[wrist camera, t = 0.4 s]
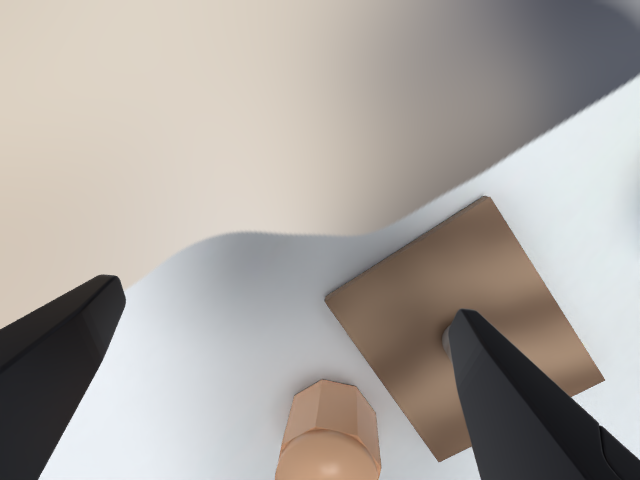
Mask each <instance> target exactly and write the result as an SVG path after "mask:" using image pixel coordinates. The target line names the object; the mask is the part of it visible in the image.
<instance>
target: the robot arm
mask: <svg viewBox="0 0 640 480" xmlns="http://www.w3.org/2000/svg"><path fill="white" fill-rule="evenodd" d="M125 304H126V298H125V294H124V291H123V288H122V285H121V282H120V279H119V278H118V277H117V276H114V275H98V276H96V277H94V278H93V279H91V280H89V281H88V282H85V283H84V284H82V285H80V286H78V287H76V288H75V289H73V290H71V291H69V292H67V293H65V294H64V295H62V296H60V297H58V298H56V299H55V300H53V301H51V302H49V303H47V304H46V305H44V306H42V307H40V308H38V309H36V310H35V311H33V312H31V313H30V314H28V315H26V316H24V317H22V318H20V319H18V320H17V321H15V322H13V323H11V324H9V325H8V326H6V327H4V328H2V329H0V480H38V479H39V477H40V475H41V473H42V471H43V469H44V468H45V466H46V464H47V462H48V460H49V458H50V457H51V455H52V453H53V451H54V449H55V447H56V446H57V444H58V442H59V440H60V438H61V436H62V435H63V433H64V431H65V429H66V427H67V425H68V424H69V422H70V420H71V418H72V416H73V414H74V413H75V411H76V409H77V407H78V405H79V403H80V401H81V400H82V398H83V396H84V394H85V392H86V390H87V389H88V387H89V385H90V383H91V381H92V379H93V378H94V376H95V374H96V372H97V370H98V368H99V366H100V364H101V363H102V361H103V358H104V356H105V354H106V352H107V349H108V347H109V344H110V342H111V340H112V337H113V335H114V332H115V330H116V327H117V325H118V322H119V320H120V318H121V315H122V313H123V310H124V308H125ZM448 338H449V344H450V350H451V357H452V363H453V369H454V376H455V382H456V387H457V392H458V396H459V400H460V404H461V407H462V411H463V415H464V419H465V422H466V426H467V430H468V433H469V437H470V441H471V444H472V448H473V452H474V455H475V459H476V463H477V466H478V470H479V474H480V477H481V480H640V460H639V459H638V458H637V457H636V456H635V455H634V454H632V453H631V452H630V451H629V450H628V449H627V448H626V447H625V446H623V445H622V444H621V443H620V442H619V441H618V440H617V439H616V438H615V437H614V436H612V435H611V434H610V433H609V432H608V431H607V430H606V429H605V428H604V427H603V426H599V423H598V422H597V421H596V420H595V419H594V418H593V417H592V416H591V415H590V414H588V413H587V412H586V411H585V410H584V409H583V408H582V407H581V406H580V405H579V404H578V403H576V402H575V401H574V400H573V399H572V398H571V397H570V396H569V395H568V394H567V393H566V392H565V391H563V390H562V389H561V388H560V387H559V386H558V385H557V384H556V383H555V382H554V381H553V380H551V379H550V378H549V377H548V376H547V375H546V374H545V373H544V372H543V371H542V370H541V369H540V368H538V367H537V366H536V365H535V364H534V363H533V362H532V361H531V360H530V359H529V358H528V357H526V356H525V355H524V354H523V353H522V352H521V351H520V350H519V349H518V348H517V347H516V346H515V345H513V344H512V343H511V342H510V341H509V340H508V339H507V338H506V337H505V336H504V335H503V334H501V333H500V332H499V331H498V330H497V329H496V328H495V327H494V326H493V325H492V324H491V323H490V322H488V321H487V320H486V319H485V318H484V317H483V316H482V315H481V314H480V313H479V312H477V311H476V310H473V309H464V308H461V309H459V310H458V311H457V313H456V315H455V317H454V319H453V321H452V323H451V325H450V327H449V330H448Z"/></svg>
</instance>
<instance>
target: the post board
mask: <svg viewBox="0 0 640 480" xmlns="http://www.w3.org/2000/svg"><path fill="white" fill-rule="evenodd" d="M325 303H326V304H327V306H328V307H329V309H330V310H331V311H332V313H333V314H334V316H335V317H336V318H337V320H338V321H339V323H340V324H341V325H342V327H343V328H344V330H345V331H346V332H347V334H348V335H349V337H350V338H351V340H352V341H353V342H354V344H355V345H356V347H357V348H358V349H359V351H360V352H361V354H362V355H363V356H364V358H365V359H366V361H367V362H368V363H369V365H370V366H371V368H372V369H373V370H374V372H375V373H376V375H377V376H378V378H379V379H380V380H381V382H382V383H383V385H384V386H385V387H386V389H387V390H388V392H389V393H390V394H391V396H392V397H393V399H394V400H395V401H396V403H397V404H398V406H399V407H400V408H401V410H402V411H403V413H404V414H405V416H406V417H407V418H408V420H409V421H410V423H411V424H412V425H413V427H414V428H415V430H416V431H417V432H418V434H419V435H420V437H421V438H422V439H423V441H424V442H425V444H426V445H427V446H428V448H429V449H430V451H431V452H432V454H433V455H434V456H435V458H436V459H437V461H438V462H441V461H443V460H445V459H447V458H449V457H451V456H453V455H455V454H457V453H459V452H461V451H463V450H465V449H467V448H469V447H471V446H472V444H471V441H470V437H469V433H468V430H467V426H466V422H465V419H464V415H463V411H462V407H461V404H460V400H459V396H458V392H457V387H456V382H455V376H454V369H453V363H452V357H451V350H450V344H449V338H448V330H449V327H450V325H451V323H452V321H453V319H454V317H455V315H456V313H457V311H458V310H459V309H461V308H464V309H473V310H476V311H477V312H479V313H480V314H481V315H482V316H483V317H484V318H485V319H486V320H487V321H488V322H490V323H491V324H492V325H493V326H494V327H495V328H496V329H497V330H498V331H499V332H500V333H501V334H503V335H504V336H505V337H506V338H507V339H508V340H509V341H510V342H511V343H512V344H513V345H515V346H516V347H517V348H518V349H519V350H520V351H521V352H522V353H523V354H524V355H525V356H526V357H528V358H529V359H530V360H531V361H532V362H533V363H534V364H535V365H536V366H537V367H538V368H540V369H541V370H542V371H543V372H544V373H545V374H546V375H547V376H548V377H549V378H550V379H551V380H553V381H554V382H555V383H556V384H557V385H558V386H559V387H560V388H561V389H562V390H563V391H565V392H566V393H567V394H568V395H569V396H570V397H572V396H574V395H576V394H578V393H580V392H582V391H585V390H587V389H589V388H591V387H593V386H595V385H597V384H599V383H601V382H603V381H605V379H604V377H603V376H602V374H601V372H600V371H599V369H598V368H597V366H596V365H595V363H594V361H593V360H592V358H591V357H590V355H589V353H588V352H587V350H586V349H585V347H584V345H583V344H582V342H581V341H580V339H579V337H578V336H577V334H576V333H575V331H574V330H573V328H572V326H571V325H570V323H569V322H568V320H567V318H566V317H565V315H564V314H563V312H562V310H561V309H560V307H559V306H558V304H557V302H556V301H555V299H554V298H553V296H552V295H551V293H550V291H549V290H548V288H547V287H546V285H545V283H544V282H543V280H542V279H541V277H540V275H539V274H538V272H537V271H536V269H535V267H534V266H533V264H532V263H531V261H530V260H529V258H528V256H527V255H526V253H525V252H524V250H523V248H522V247H521V245H520V244H519V242H518V240H517V239H516V237H515V236H514V234H513V232H512V231H511V229H510V228H509V226H508V225H507V223H506V221H505V220H504V218H503V217H502V215H501V213H500V212H499V210H498V209H497V207H496V205H495V204H494V202H493V201H492V199H491V197H487V196H483V197H482V198H480V199H478V200H477V201H475V202H474V203H472V204H471V205H469V206H467V207H466V208H464V209H463V210H461V211H459V212H458V213H456V214H455V215H453V216H452V217H450V218H448V219H447V220H445V221H444V222H442V223H441V224H439V225H437V226H436V227H434V228H433V229H431V230H430V231H428V232H426V233H425V234H423V235H422V236H420V237H418V238H417V239H415V240H414V241H412V242H411V243H409V244H407V245H406V246H404V247H403V248H401V249H400V250H398V251H396V252H395V253H393V254H392V255H390V256H389V257H387V258H385V259H384V260H382V261H381V262H379V263H377V264H376V265H374V266H373V267H371V268H370V269H368V270H366V271H365V272H363V273H362V274H360V275H359V276H357V277H355V278H354V279H352V280H351V281H349V282H347V283H346V284H344V285H343V286H341V287H340V288H338V289H336V290H335V291H333V292H332V293H330V294H329V295H327V296H326V297H325Z"/></svg>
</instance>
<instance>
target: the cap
mask: <svg viewBox="0 0 640 480" xmlns="http://www.w3.org/2000/svg"><path fill="white" fill-rule="evenodd" d="M380 471H381V459H380V450H379V440H378V431H377V421H376V413H375V412H374V410H373V409H372V408H371V406H370V405H369V404H368V402H367V401H366V399H365V398H364V397H363V395H362V394H361V392H360V391H359V390H358V388H357V387H355V386H351V385H346V384H342V383H337V382H332V381H328V380H323V379H322V380H320V381H319V382H317V383H315V384H313V385H312V386H310V387H308V388H307V389H305V390H303V391H301V392H300V393H298V394H296V395H295V396H294V399H293V403H292V406H291V410H290V414H289V418H288V422H287V426H286V429H285V433H284V437H283V441H282V445H281V450H280V456H279V461H278V466H277V470H276V473H275V480H378V479H379V475H380Z"/></svg>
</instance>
